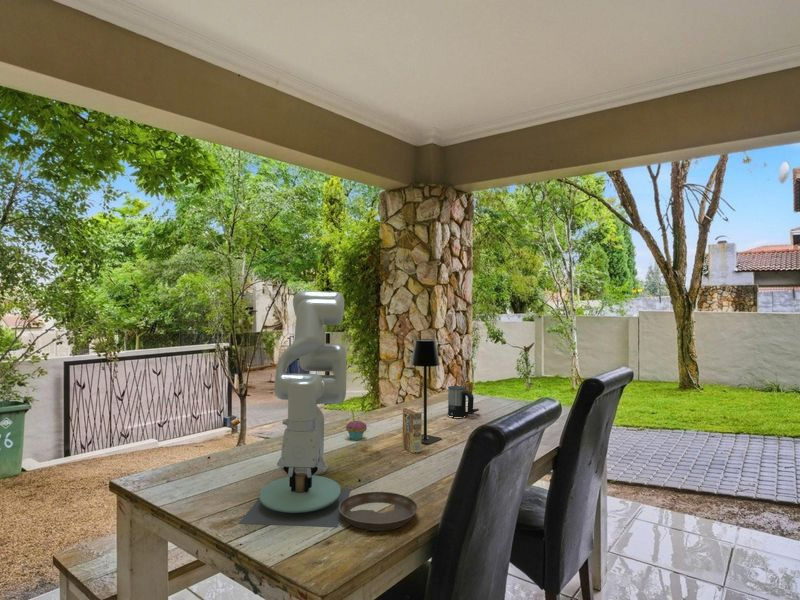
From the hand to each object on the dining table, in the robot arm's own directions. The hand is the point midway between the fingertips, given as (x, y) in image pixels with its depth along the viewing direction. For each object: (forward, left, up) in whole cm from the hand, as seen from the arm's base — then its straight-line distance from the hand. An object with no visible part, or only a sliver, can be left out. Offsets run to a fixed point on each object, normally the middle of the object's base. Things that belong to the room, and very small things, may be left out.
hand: (300, 489), depth 137 cm
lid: (0, 0, -1) cm, 1 cm away
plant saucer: (+22, -6, -5) cm, 24 cm away
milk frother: (+55, +113, -5) cm, 126 cm away
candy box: (+30, +54, -5) cm, 62 cm away
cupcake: (+7, +67, -5) cm, 67 cm away
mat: (0, -1, -4) cm, 4 cm away
